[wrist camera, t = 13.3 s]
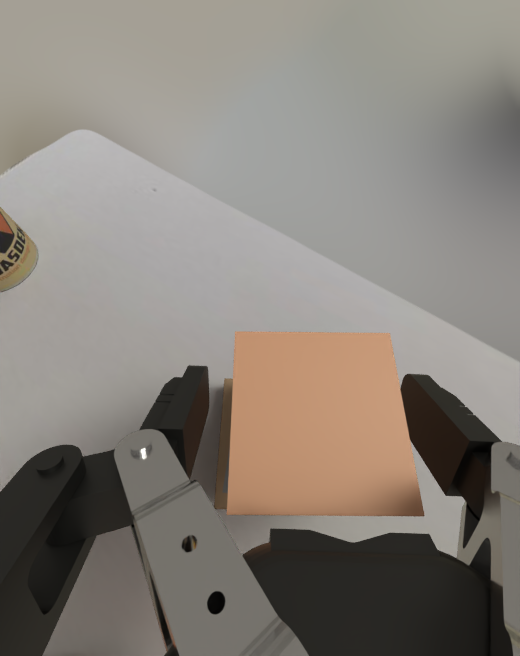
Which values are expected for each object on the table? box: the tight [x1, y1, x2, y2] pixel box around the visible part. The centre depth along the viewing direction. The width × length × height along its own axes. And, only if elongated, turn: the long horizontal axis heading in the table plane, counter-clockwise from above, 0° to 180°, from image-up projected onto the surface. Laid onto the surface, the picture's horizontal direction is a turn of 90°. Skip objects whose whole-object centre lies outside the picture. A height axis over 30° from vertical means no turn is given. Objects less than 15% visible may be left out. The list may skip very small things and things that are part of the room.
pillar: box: [227, 332, 424, 516], centre depth 13 cm, size 5×5×10 cm
